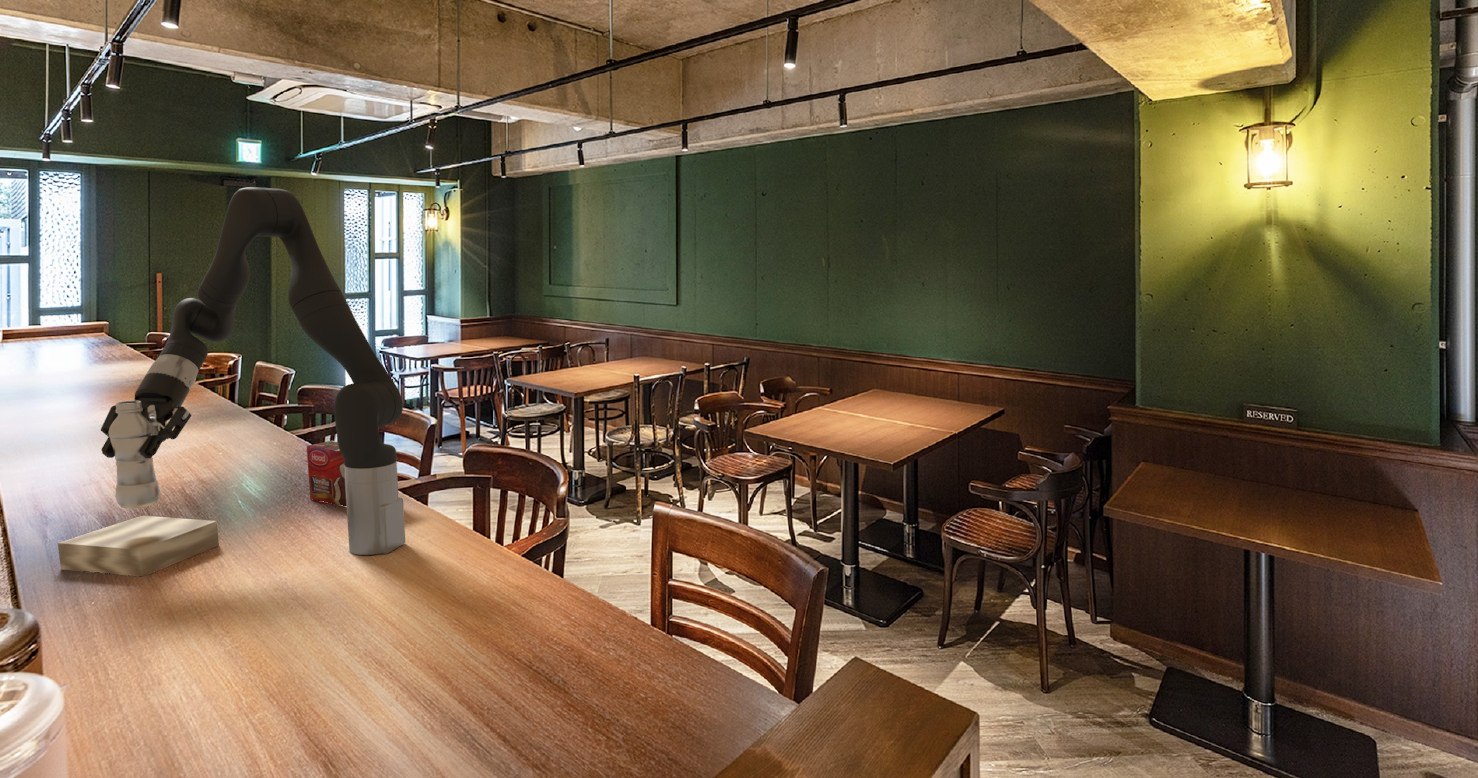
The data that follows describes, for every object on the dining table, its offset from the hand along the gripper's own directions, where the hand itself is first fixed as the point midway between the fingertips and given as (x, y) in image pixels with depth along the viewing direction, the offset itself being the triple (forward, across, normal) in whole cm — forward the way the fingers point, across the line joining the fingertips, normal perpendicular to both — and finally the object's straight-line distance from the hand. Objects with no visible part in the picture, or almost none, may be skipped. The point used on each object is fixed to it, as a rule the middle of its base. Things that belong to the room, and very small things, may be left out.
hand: (126, 455), depth 135 cm
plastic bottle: (+6, 0, +9) cm, 11 cm away
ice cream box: (-12, +21, +41) cm, 48 cm away
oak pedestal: (+13, 0, +15) cm, 20 cm away
